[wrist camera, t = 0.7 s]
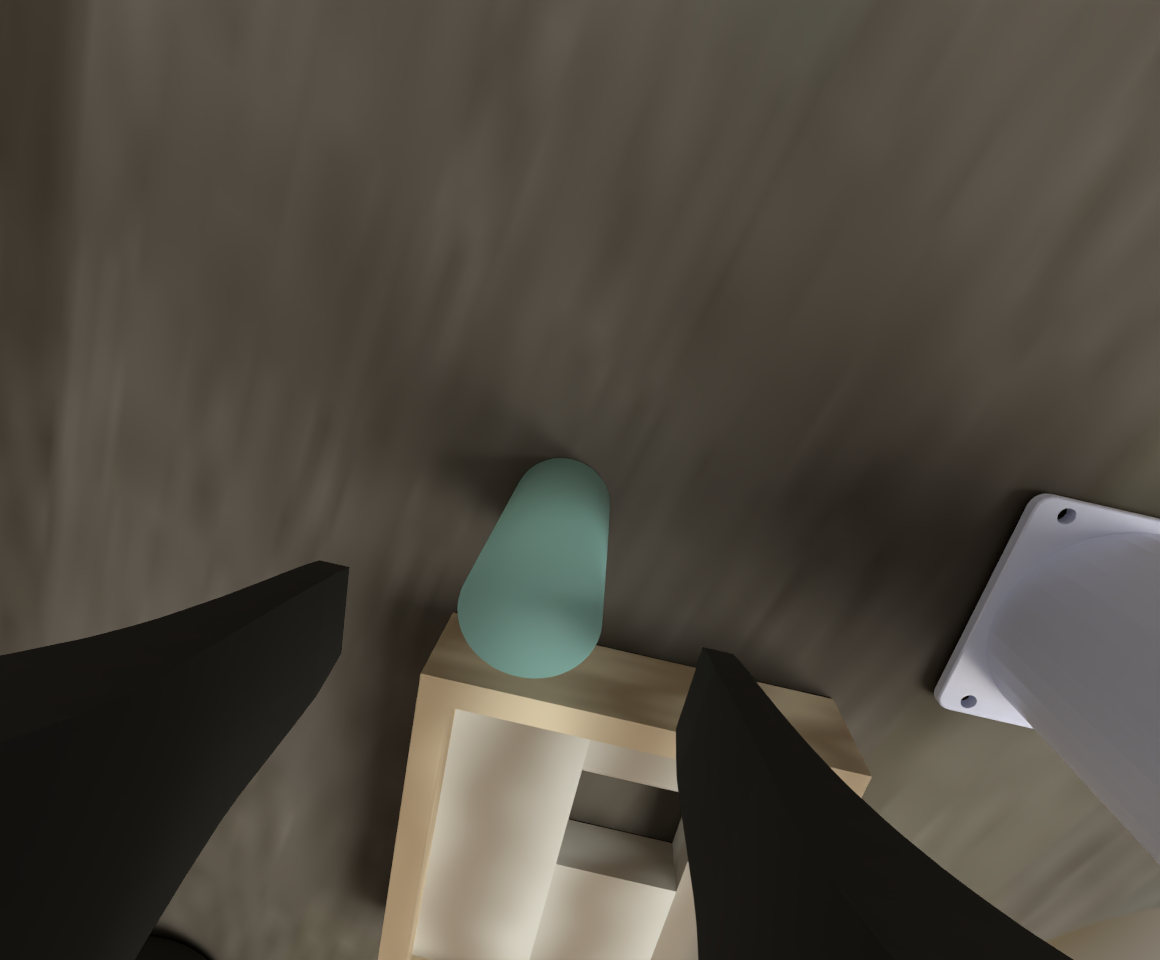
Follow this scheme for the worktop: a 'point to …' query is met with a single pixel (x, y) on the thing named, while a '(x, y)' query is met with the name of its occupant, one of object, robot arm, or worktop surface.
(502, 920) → the bore tray
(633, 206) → the worktop surface
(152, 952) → the cola bottle
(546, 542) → the peg
